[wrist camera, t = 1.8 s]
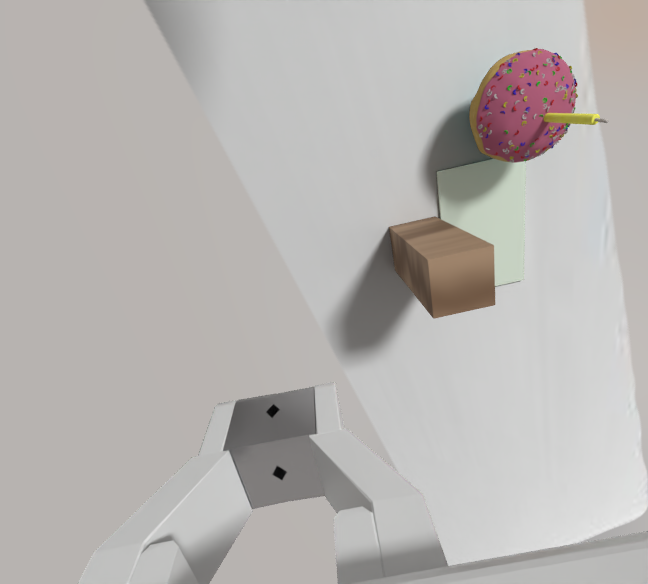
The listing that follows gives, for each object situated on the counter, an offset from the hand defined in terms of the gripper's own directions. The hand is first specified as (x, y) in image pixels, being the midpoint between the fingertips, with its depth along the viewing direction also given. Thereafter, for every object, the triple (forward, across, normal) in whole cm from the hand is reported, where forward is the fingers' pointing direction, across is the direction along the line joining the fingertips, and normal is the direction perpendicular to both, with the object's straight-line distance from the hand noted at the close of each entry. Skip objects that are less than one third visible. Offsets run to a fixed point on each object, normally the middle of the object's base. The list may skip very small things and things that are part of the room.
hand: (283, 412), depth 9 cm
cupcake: (+30, -20, -6) cm, 36 cm away
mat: (+29, -19, +6) cm, 35 cm away
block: (+29, -12, +6) cm, 32 cm away
